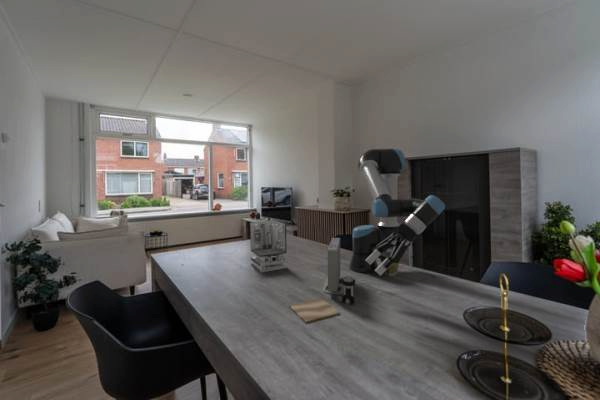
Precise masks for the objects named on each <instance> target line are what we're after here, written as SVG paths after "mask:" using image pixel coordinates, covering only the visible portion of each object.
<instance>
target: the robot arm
mask: <svg viewBox="0 0 600 400" xmlns="http://www.w3.org/2000/svg"><path fill="white" fill-rule="evenodd" d="M405 166H406V157H405V154H404V152H403V151H402V150H401V149H398V148H372V149H369V150H367V151H364V153H363V154H361V156H360V157H359V159H358V165H357V168H358V171H359V173H360V174H361V175H362V176H363V177H364V179H365V182H366V185H367V188H368V190H369V192H370V194H371V196H372V199H373V201H372V202H371V213H372V214H371V215H373V217H375V218H379V219H380V221H379V222H377V225H376V226H377V227H375V225H372V224H365V225H359V226H356V227H354V228H353V229H352V236H351V238H352V255H351V259H350V262H349V269H350V270H352V271H353V272H357V273H373V272H375V273H377V274H378V276H382V275H384V272H385V271H386V270H387V269H388V268H389V267H390V266H391V265H392V264H393V263H396V264H397V263H398V262H399V263H400V261H401V259H402V258H403V256H404V254H405V252H406V250H407V249H408V248H409V247H410V246H411V244H412V243H413V242H414V241H415V240H416V239H417V238H418V235H420V234H422V233H423V232H424V231H425V229H426V228H427V227H428V226H429V225H430V224H431V223H432V222H433V221H435V219H436V218H437V217H439V215H441V213H442V212H443V211H444V210H445V208H446V205H445V203H444V202H443V201H442V200H441V199H440V198H439V197H437V196H435V195H432V194H430V195H428V196H427V197H426V198H425V199H423V200H422V199H418V198H415V197H414V198H412V197H410V198H403V199H399V198H398V177H400V175H401V174H402V171H404V170H405ZM398 218H405V219H404V221H403V222H402V223H398ZM387 250H391V254H390V256H388V257H387V258H386V259H385V260H384V261H383V262H382V263H381V262H380V264H379V265H378V262H377V259H378V258H380V255H381V254H382V253H383V252H386V251H387Z"/></svg>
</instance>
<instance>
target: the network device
mask: <svg viewBox="0 0 600 400" xmlns="http://www.w3.org/2000/svg"><path fill="white" fill-rule="evenodd" d="M342 279H344V277H343V278H342V277H341V238H340V237H332V238H331V241H330V243H329V244H328V248H327V278H326V279H325V282H324V285H323V287H322V292H323V293H325V294H327V295H341V294H343V293H344V285H343V284H342V282H341V283H339V282H340V281H342ZM338 288H340V291H338V290H339V289H338Z"/></svg>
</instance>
